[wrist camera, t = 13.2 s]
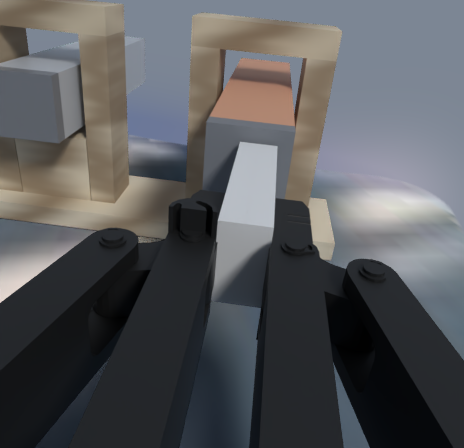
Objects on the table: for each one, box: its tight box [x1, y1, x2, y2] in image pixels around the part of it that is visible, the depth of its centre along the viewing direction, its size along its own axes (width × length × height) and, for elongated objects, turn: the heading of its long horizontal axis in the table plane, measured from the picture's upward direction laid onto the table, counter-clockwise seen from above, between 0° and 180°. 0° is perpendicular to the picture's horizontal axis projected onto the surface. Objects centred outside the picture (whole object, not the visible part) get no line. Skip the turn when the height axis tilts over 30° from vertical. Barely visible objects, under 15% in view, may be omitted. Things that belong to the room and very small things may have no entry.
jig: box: [0, 0, 342, 260], centre depth 26 cm, size 23×6×12 cm, turn 84°
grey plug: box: [0, 36, 145, 143], centre depth 30 cm, size 4×17×4 cm, turn 174°
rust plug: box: [202, 58, 296, 199], centre depth 25 cm, size 4×17×4 cm, turn 174°
